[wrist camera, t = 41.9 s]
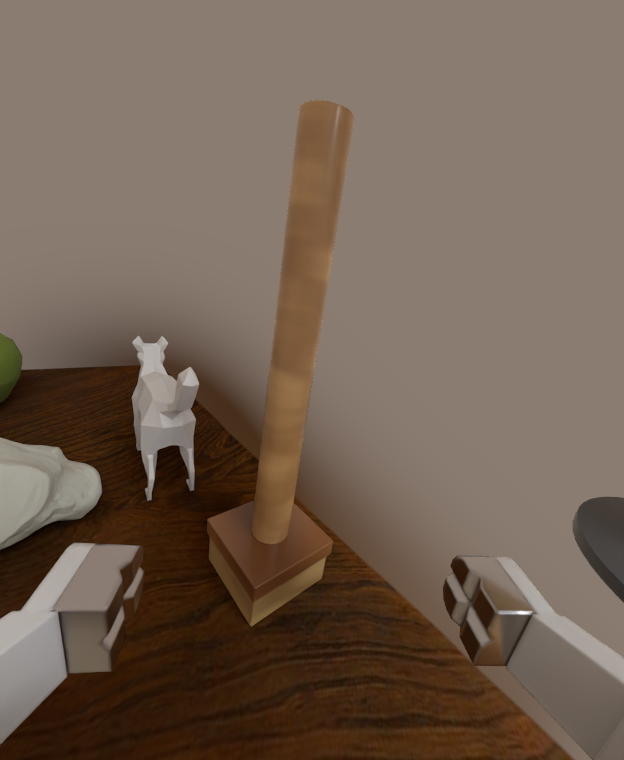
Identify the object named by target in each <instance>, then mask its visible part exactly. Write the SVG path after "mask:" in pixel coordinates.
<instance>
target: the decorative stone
mask: <svg viewBox="0 0 624 760" xmlns="http://www.w3.org/2000/svg"><path fill="white" fill-rule="evenodd" d="M101 494H102V486H101V480H100V475H99V473H98V471H97V470H96V469H95V468H93V467H92V466H90V465H87V464H84V463H78V462H74V461H69V460H68V459H66V457H65V456H64V455H63V452H62V451H61V449H60V448H59V447H50V446H43V445H25V444H21V443H16V442H13V441H10V440H6V439H3V438H0V550H1V549H3V548H6V547H8V546H11V545H13V544H14V543H16V542H18V541H20V540H22V539H24V538H26V537H27V536H29V535H30V534H32V533H33V532H34V531H36V530H38V529H40V528H41V527H43V526H45V525H47V524H50V523H52V522H55V521H59V520H60V521H63V520H75V519H80V518H82V517H83V516H84V515H86V514H87V513H88V512H89V511H90V510H91V509H93V508H94V507H95V506H96V504H97V502H98V500H99V498H100V496H101Z"/></svg>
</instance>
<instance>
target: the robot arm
mask: <svg viewBox="0 0 624 760" xmlns="http://www.w3.org/2000/svg"><path fill="white" fill-rule="evenodd" d="M143 558H144V552H143V547H142V546H133V545H116V544H99V543H97V544H92V543H73V544H72V545H70V546H69V547H68V548H67V549H66V550H65V551H64V553H63V554H62V555H61V557H60V558H59V559H58V561H57V562H56V563H55V565H54V566H53V567H52V569H51V570H50V571H49V573H48V574H47V576H46V577H45V578H44V580H43V581H42V582H41V584H40V585H39V586H38V588H37V589H36V590H35V592H34V593H33V594H32V596H31V597H30V598H29V600H28V601H27V602H26V604H25V605H24V606H23V608H22V609H21V610H20V611H11V612H10V613H8V614H7V615H5V616H4V617H2V618H1V619H0V744H1V743H2V742H3V741H4V740H5V739H6V738H7V737H8V736H9V735H10V734H11V733H12V732H13V731H14V730H15V729H16V728H17V727H18V726H19V725H20V724H21V723H22V722H23V721H24V720H25V719H26V718H27V717H28V716H29V715H30V714H31V713H32V712H33V711H34V710H35V709H36V708H37V707H38V706H39V705H40V704H41V703H42V702H43V701H44V700H45V699H46V698H47V697H48V696H49V695H50V694H51V693H52V692H53V690H54V689H55V688H56V687H57V686H58V685H59V684H60V683H61V682H62V681H63V680H64V679H65V678H66V677H67V673H86V672H107V671H112V670H113V667H114V665H115V662H116V660H117V658H118V655H119V653H120V650H121V648H122V645H123V643H124V641H125V638H126V629H125V624H127V623H128V622H129V621H130V620H131V619H132V618H133V617H134V616H135V614H136V611H137V609H138V606H139V603H140V600H141V596H142V592H143V587H144V571H143V570H142V569H141V568H140V565H141V563H142V561H143ZM451 568H452V570H453V573H452V574H451V575H449V576H448V577H447V578H446V579H445V583H444V586H443V596H444V597H443V598H444V602H445V606H446V609H447V611H448V613H449V615H450V618H451V619H452V620H454V622H456V623H457V624H458V625H459V626H460V627H461V628H460V638H461V640H462V642H463V644H464V646H465V649H466V650H467V652H468V655H469V657H470V659H471V661H472V663H473V665H474V666H506V669H507V670H508V671H509V672H510V673H511V674H512V675H513V677H515V679H516V680H517V681H518V682H519V683H520V684H521V685H522V686H523V687H524V688H525V689H526V690H527V691H528V692H529V693H530V694H531V695H532V696H533V698H534V699H535V700H536V701H537V702H538V703H539V704H540V705H541V706H542V707H543V708H544V709H545V710H546V711H547V712H548V713H549V714H550V715H551V717H552V718H553V719H554V720H555V721H556V722H557V723H558V724H559V725H560V726H561V727H562V728H563V729H564V730H565V731H566V732H567V733H568V734H569V735H570V737H572V739H573V740H574V741H576V743H577V744H578V745H579V746H580V747H581V748H582V749H583V750H584V751H585V752H586V753H587V754H588V755H589V757H590V758H591V759H592V760H624V658H623V657H622V656H620V655H619V654H617V653H616V652H615V651H613V650H612V649H610V648H609V647H607V646H606V645H605V644H603V643H602V642H600V641H599V640H598V639H596V638H595V637H593V636H592V635H590V634H589V633H588V632H586V631H584V630H583V629H582V628H580V627H579V626H578V625H576V624H575V623H573V622H572V621H570V620H569V619H568V618H566V617H565V616H563V615H557V614H556V613H555V612H554V611H553V609H552V608H551V607H550V605H549V604H548V603H547V602H546V600H545V599H544V598H543V596H542V595H541V594H540V593H539V592H538V590H537V589H536V588H535V586H534V585H533V584H532V583H531V581H530V580H529V579H528V577H527V576H526V575H525V574H524V572H523V571H522V570H521V569H520V567H519V566H518V565H517V564H516V562H515V561H514V560H512V559H511V558H509V557H489V556H456V557H455V558H454V559H453V560H452V563H451Z"/></svg>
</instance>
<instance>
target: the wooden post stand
mask: <svg viewBox="0 0 624 760" xmlns="http://www.w3.org/2000/svg"><path fill="white" fill-rule="evenodd" d="M353 124H354V116H353V114H352V112H351V111H349V110H348V109H347V108H345V107H343V106H341V105H339V104H336V103H333V102H329V101H319V100H315V101H308V102H305V103H303V104H302V105H301V106H300V108H299V114H298V123H297V132H296V140H295V149H294V158H293V166H292V175H291V185H290V193H289V202H288V210H287V219H286V229H285V237H284V246H283V255H282V263H281V272H280V281H279V291H278V299H277V308H276V316H275V325H274V334H273V343H272V352H271V360H270V370H269V378H268V387H267V396H266V406H265V413H264V422H263V432H262V440H261V449H260V458H259V466H258V475H257V484H256V493H255V500H254V501H252V502H249V503H247V504H244V505H242V506H239V507H237V508H234V509H231V510H229V511H226V512H224V513H221V514H219V515H216V516H214V517H211V518H209V519H208V520H207V533H208V535H209V536H210V545H209V560H210V561H211V563H212V565H213V566H214V568H215V570H216V571H217V573H218V575H219V576H220V578H221V579H222V581H223V583H224V584H225V586H226V588H227V589H228V591H229V593H230V594H231V596H232V597H233V599H234V601H235V602H236V604H237V606H238V607H239V609H240V611H241V612H242V614H243V615H244V617H245V619H246V620H247V622H248V624H249V625H250V627H251V626H253V625H254V624H256V623H257V622H259V621H260V620H262V619H263V618H265V617H266V616H268V615H269V614H270V613H272V612H273V611H275V610H276V609H278V608H279V607H281V606H282V605H284V604H285V603H287V602H288V601H289V600H291V599H292V598H294V597H295V596H297V595H298V594H300V593H301V592H303V591H304V590H305V589H307V588H308V587H310V586H311V585H313V584H314V583H316V582H317V581H319V580H320V579H321V578H322V574H323V569H324V564H325V560H326V556H328V555H330V554H331V550H332V545H333V540H331V539H330V538H329V537H328V536H327V535H326V534H325V533H324V532H323V531H322V530H321V529H320V528H319V527H318V526H317V525H316V524H315V523H314V522H313V521H312V520H311V519H310V518H309V517H308V516H307V515H306V514H305V513H304V512H303V511H302V510H301V509H300V508H299V507H298V506H296V505H295V504H294V503H293V501H294V495H295V489H296V482H297V476H298V470H299V463H300V457H301V451H302V445H303V438H304V431H305V426H306V419H307V413H308V407H309V400H310V394H311V388H312V382H313V375H314V369H315V363H316V356H317V350H318V344H319V338H320V332H321V325H322V319H323V312H324V306H325V300H326V294H327V287H328V281H329V275H330V269H331V262H332V256H333V250H334V243H335V236H336V231H337V224H338V218H339V212H340V206H341V200H342V193H343V187H344V181H345V174H346V168H347V162H348V155H349V149H350V143H351V137H352V131H353Z"/></svg>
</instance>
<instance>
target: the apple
mask: <svg viewBox="0 0 624 760" xmlns="http://www.w3.org/2000/svg"><path fill="white" fill-rule="evenodd" d="M21 366H22V355H21V353H20V351H19V349H18V348H17V346H16V345H15V343H14V341H13V340H12V339H9V338H8V337H6V336H4V335H2V334H0V403H1V402H3V401H4V400H5V399H6V398H7V397H8V396H9V395H10V393H11V391H12V389H13V388H14V386H15V384H16V383H17V381H18V379H19V377H20V376H21Z"/></svg>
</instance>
